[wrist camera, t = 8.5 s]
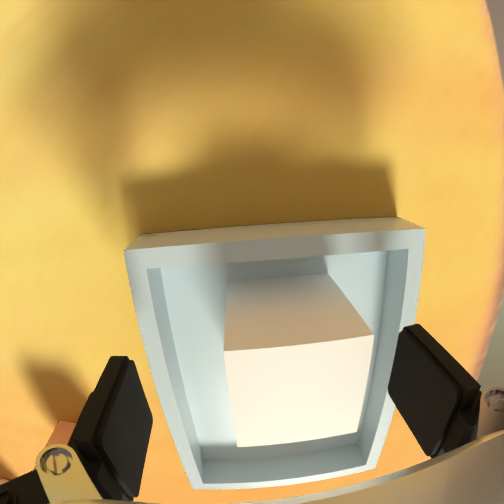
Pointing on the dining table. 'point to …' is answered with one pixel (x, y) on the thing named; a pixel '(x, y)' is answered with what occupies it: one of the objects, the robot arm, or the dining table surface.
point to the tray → (213, 326)
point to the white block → (294, 359)
